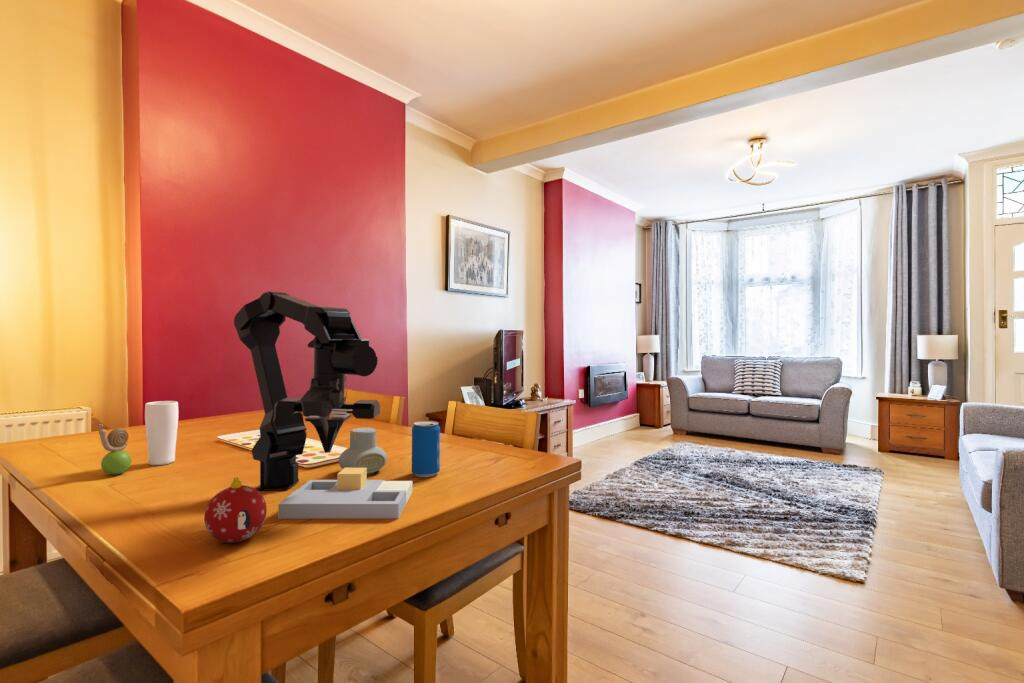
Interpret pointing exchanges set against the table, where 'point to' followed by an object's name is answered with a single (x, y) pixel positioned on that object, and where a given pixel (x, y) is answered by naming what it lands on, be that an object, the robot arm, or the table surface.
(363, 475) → the ochre block
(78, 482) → the table surface
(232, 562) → the table surface
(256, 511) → the christmas ornament
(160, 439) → the drinking glass
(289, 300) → the robot arm
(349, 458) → the air freshener
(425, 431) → the beverage can
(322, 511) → the trap board
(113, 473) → the snail figurine
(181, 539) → the table surface
